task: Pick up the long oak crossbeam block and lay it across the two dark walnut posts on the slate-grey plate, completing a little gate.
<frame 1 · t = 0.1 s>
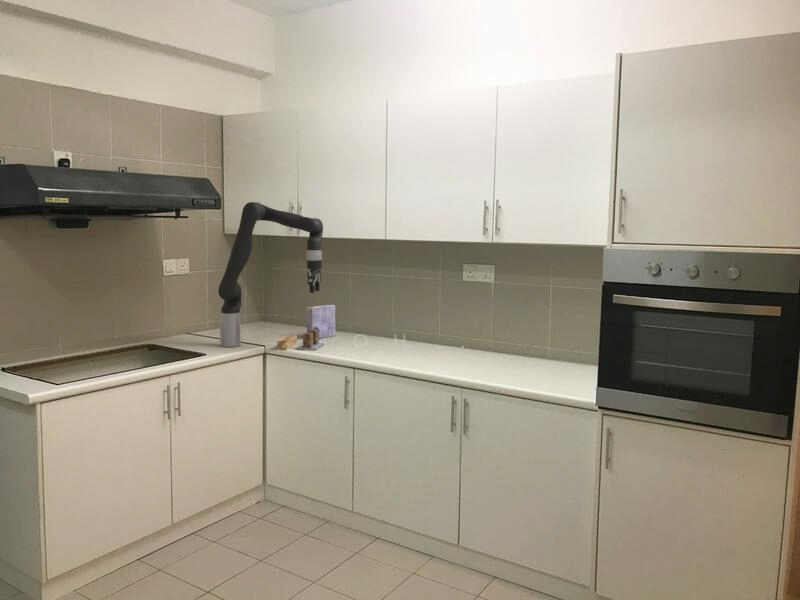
hand: (314, 291, 320), 29 cm above the worktop, tool pointing down, fingers open, 8 cm apart
blueprint plate: (311, 347, 329), on the worktop
cake pan box: (322, 337, 357), on the worktop
oak crossbeam: (287, 347, 329), on the worktop
posts: (310, 338, 329), on the blueprint plate, point 4 cm above the worktop
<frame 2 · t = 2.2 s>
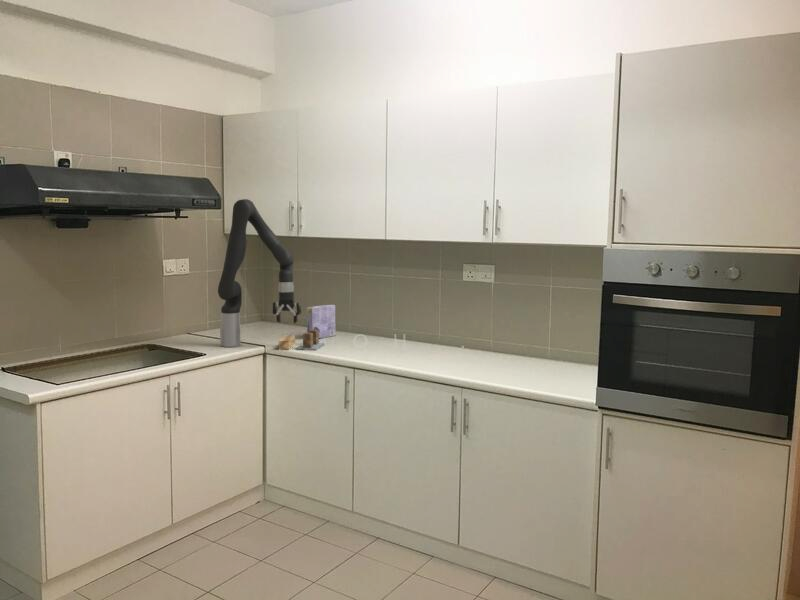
hand: (287, 322, 328), 13 cm above the worktop, tool pointing down, fingers open, 8 cm apart
nothing on the worktop moved.
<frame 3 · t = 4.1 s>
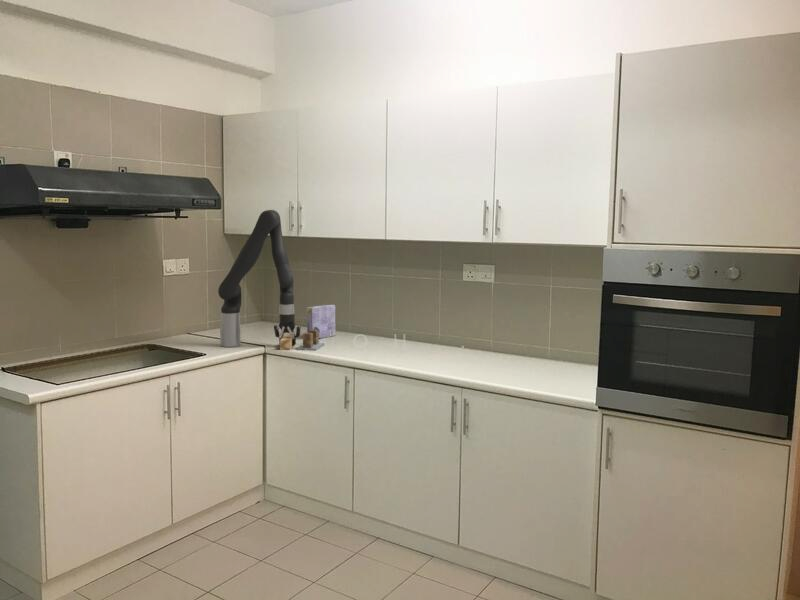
hand: (287, 345, 329), 1 cm above the worktop, tool pointing down, fingers closed on oak crossbeam, 5 cm apart
oak crossbeam: (287, 347, 329), on the worktop, touching gripper
everything else where it was.
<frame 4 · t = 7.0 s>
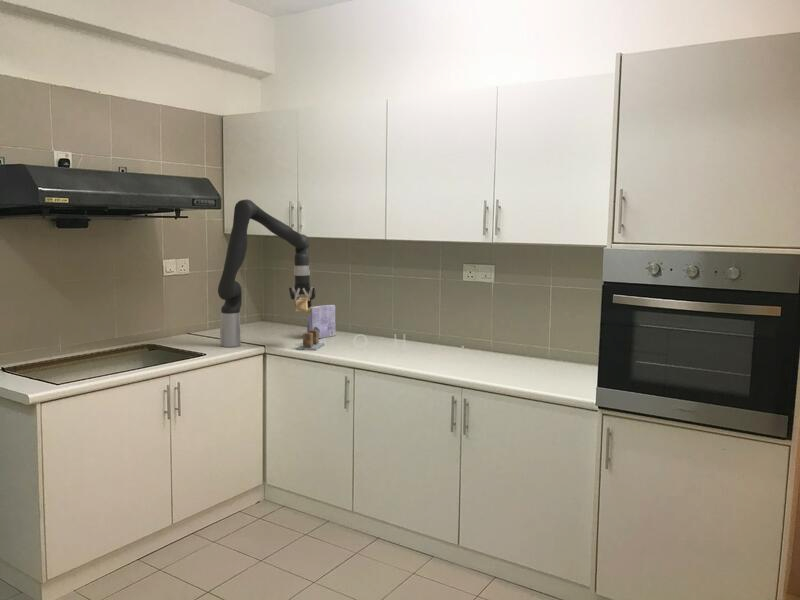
hand: (303, 307, 326), 20 cm above the worktop, tool pointing down, fingers closed on oak crossbeam, 5 cm apart
oak crossbeam: (303, 309, 326), point 20 cm above the worktop, touching gripper
everything else where it was.
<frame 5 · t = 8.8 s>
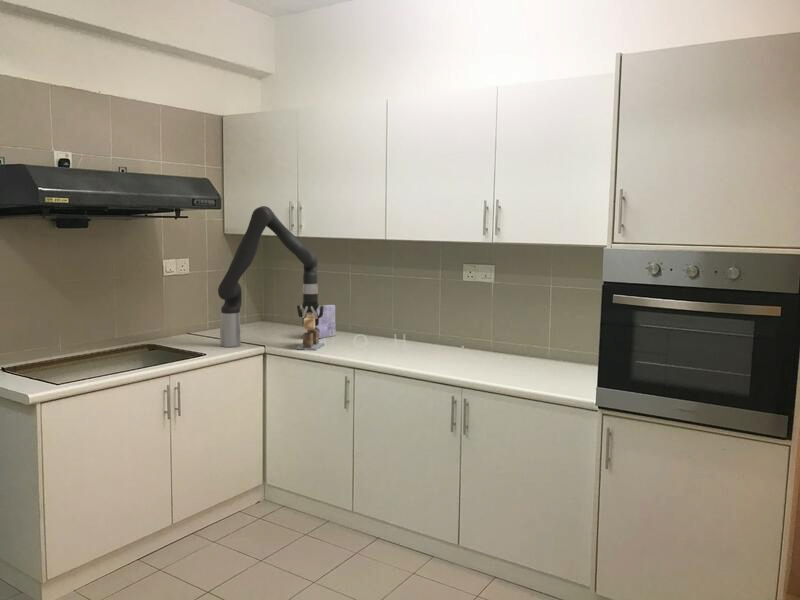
hand: (310, 325, 328), 11 cm above the worktop, tool pointing down, fingers closed on oak crossbeam, 5 cm apart
oak crossbeam: (310, 327, 328), point 11 cm above the worktop, touching gripper
everything else where it was.
when the fingers open (10 cm above the worktop, at t = 10.0 s): oak crossbeam drops 1 cm, resting on posts.
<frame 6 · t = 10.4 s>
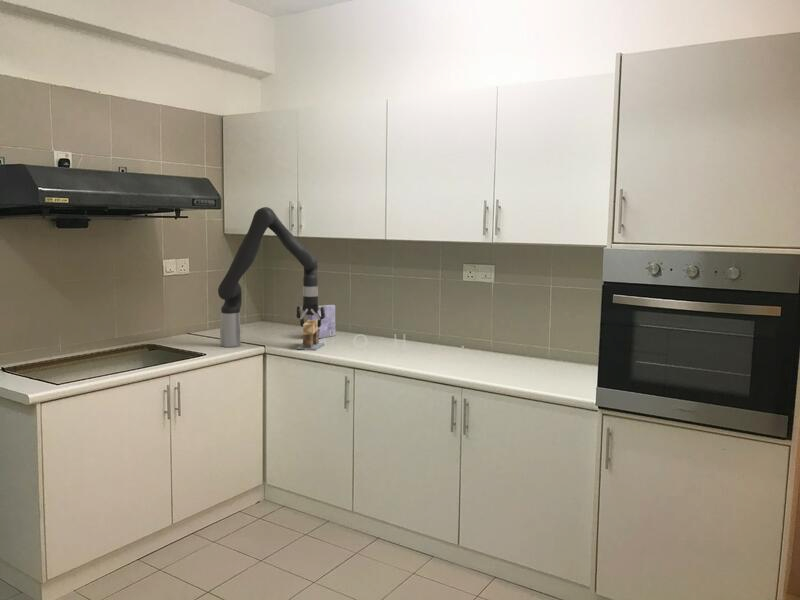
hand: (310, 326, 328), 11 cm above the worktop, tool pointing down, fingers open, 8 cm apart
oak crossbeam: (310, 331, 328), point 8 cm above the worktop, touching posts
everything else where it was.
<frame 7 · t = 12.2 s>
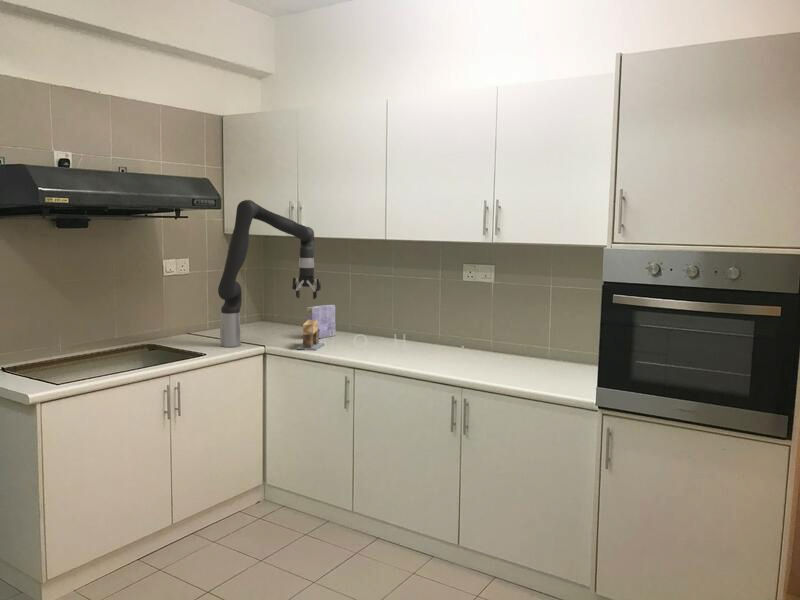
hand: (306, 298, 328), 25 cm above the worktop, tool pointing down, fingers open, 8 cm apart
nothing on the worktop moved.
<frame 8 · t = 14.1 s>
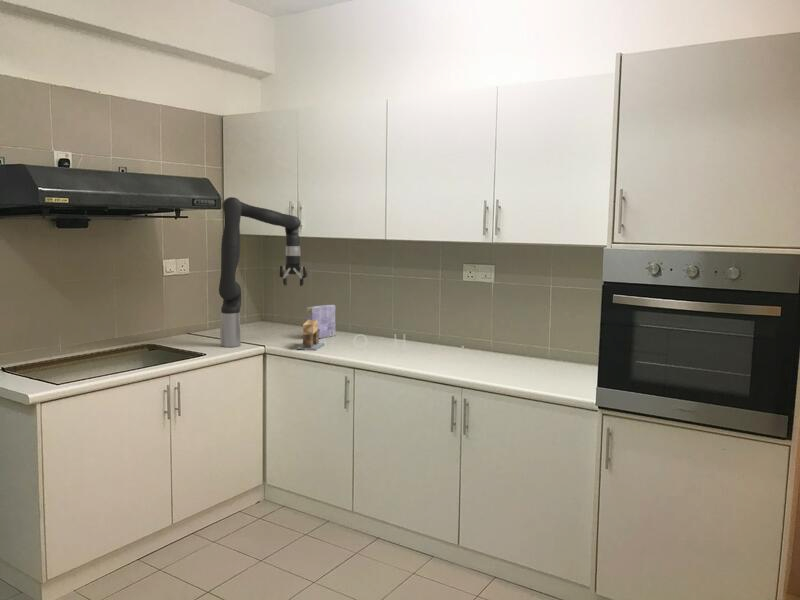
hand: (293, 285, 338), 30 cm above the worktop, tool pointing down, fingers open, 8 cm apart
nothing on the worktop moved.
at the end: oak crossbeam 0.1 cm from the target spot, point 8.0 cm above the worktop; oak crossbeam tilted 0°; the gripper is holding nothing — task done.
